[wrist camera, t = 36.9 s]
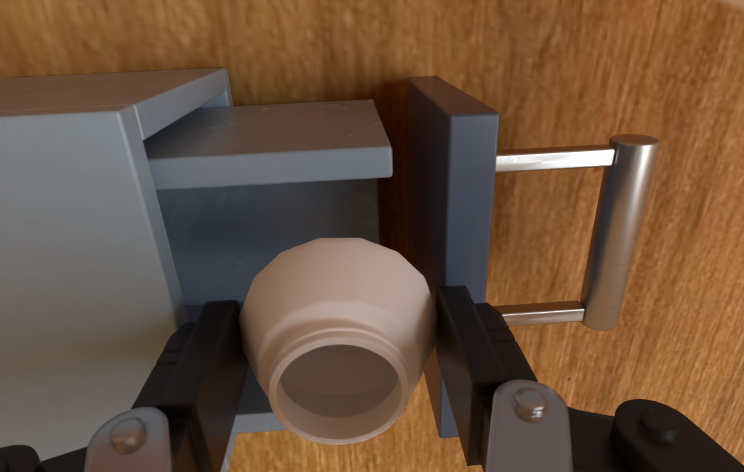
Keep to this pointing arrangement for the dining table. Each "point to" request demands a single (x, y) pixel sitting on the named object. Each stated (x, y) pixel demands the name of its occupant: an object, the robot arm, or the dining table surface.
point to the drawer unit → (85, 248)
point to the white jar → (338, 337)
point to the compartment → (374, 204)
